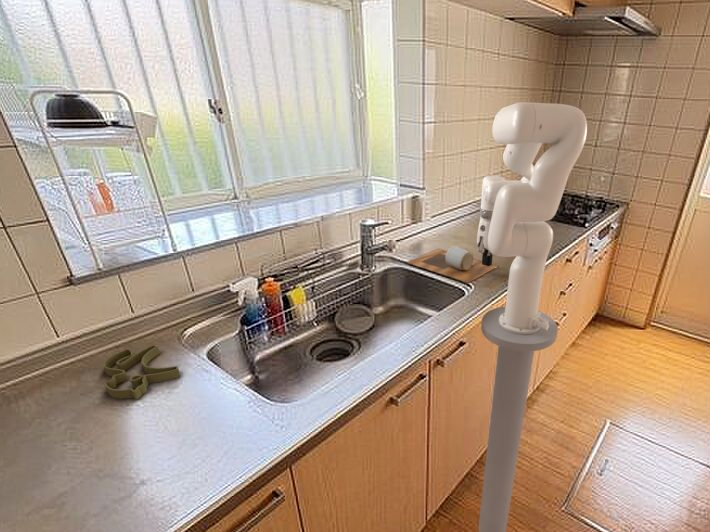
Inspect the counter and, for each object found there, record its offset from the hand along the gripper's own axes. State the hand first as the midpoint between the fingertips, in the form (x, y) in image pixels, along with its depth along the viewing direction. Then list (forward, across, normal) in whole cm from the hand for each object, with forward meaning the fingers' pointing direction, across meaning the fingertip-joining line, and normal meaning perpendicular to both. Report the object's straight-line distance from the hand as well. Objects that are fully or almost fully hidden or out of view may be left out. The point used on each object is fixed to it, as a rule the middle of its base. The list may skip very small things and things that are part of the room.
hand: (486, 264), depth 149 cm
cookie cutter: (+4, -98, +29) cm, 102 cm away
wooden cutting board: (+4, 0, +15) cm, 15 cm away
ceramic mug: (+4, 0, +11) cm, 11 cm away
